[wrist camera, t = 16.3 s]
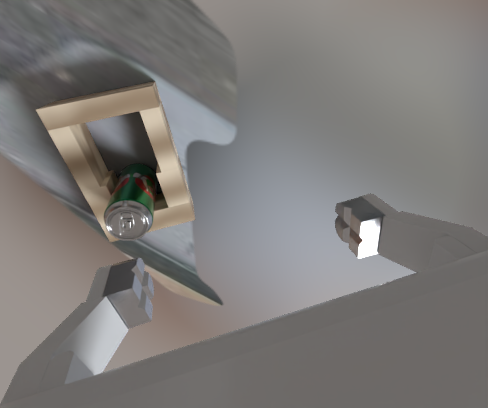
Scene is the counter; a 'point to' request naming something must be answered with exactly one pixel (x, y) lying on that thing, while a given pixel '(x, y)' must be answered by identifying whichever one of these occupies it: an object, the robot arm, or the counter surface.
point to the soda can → (132, 203)
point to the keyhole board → (91, 163)
